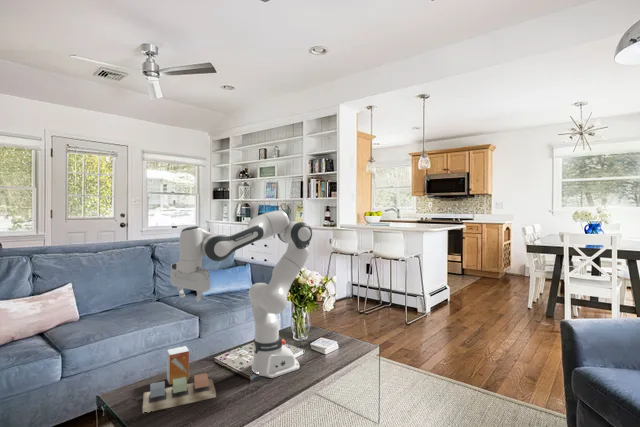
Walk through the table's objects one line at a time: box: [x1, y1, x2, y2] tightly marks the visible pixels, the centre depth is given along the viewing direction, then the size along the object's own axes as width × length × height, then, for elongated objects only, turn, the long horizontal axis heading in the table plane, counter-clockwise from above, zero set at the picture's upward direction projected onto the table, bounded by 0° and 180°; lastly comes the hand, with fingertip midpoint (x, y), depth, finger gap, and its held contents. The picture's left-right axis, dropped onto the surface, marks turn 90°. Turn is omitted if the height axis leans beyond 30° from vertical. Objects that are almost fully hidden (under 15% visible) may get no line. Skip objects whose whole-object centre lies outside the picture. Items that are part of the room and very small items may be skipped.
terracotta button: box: [193, 372, 209, 389], centre depth 140 cm, size 5×5×3 cm
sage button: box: [172, 377, 188, 393], centre depth 137 cm, size 5×5×3 cm
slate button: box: [149, 380, 166, 398], centre depth 134 cm, size 5×5×3 cm
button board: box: [142, 378, 217, 414], centre depth 137 cm, size 26×11×2 cm, turn 115°
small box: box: [166, 345, 190, 385], centre depth 150 cm, size 8×6×13 cm
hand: (189, 299), depth 143 cm, fingers open, 8 cm apart
